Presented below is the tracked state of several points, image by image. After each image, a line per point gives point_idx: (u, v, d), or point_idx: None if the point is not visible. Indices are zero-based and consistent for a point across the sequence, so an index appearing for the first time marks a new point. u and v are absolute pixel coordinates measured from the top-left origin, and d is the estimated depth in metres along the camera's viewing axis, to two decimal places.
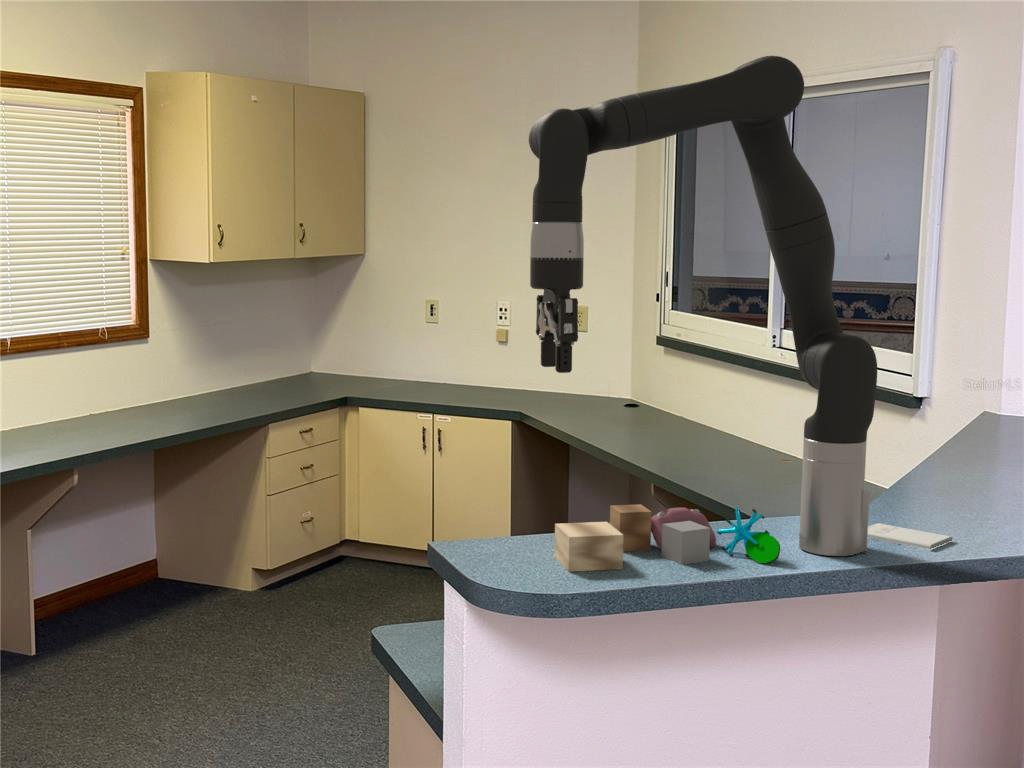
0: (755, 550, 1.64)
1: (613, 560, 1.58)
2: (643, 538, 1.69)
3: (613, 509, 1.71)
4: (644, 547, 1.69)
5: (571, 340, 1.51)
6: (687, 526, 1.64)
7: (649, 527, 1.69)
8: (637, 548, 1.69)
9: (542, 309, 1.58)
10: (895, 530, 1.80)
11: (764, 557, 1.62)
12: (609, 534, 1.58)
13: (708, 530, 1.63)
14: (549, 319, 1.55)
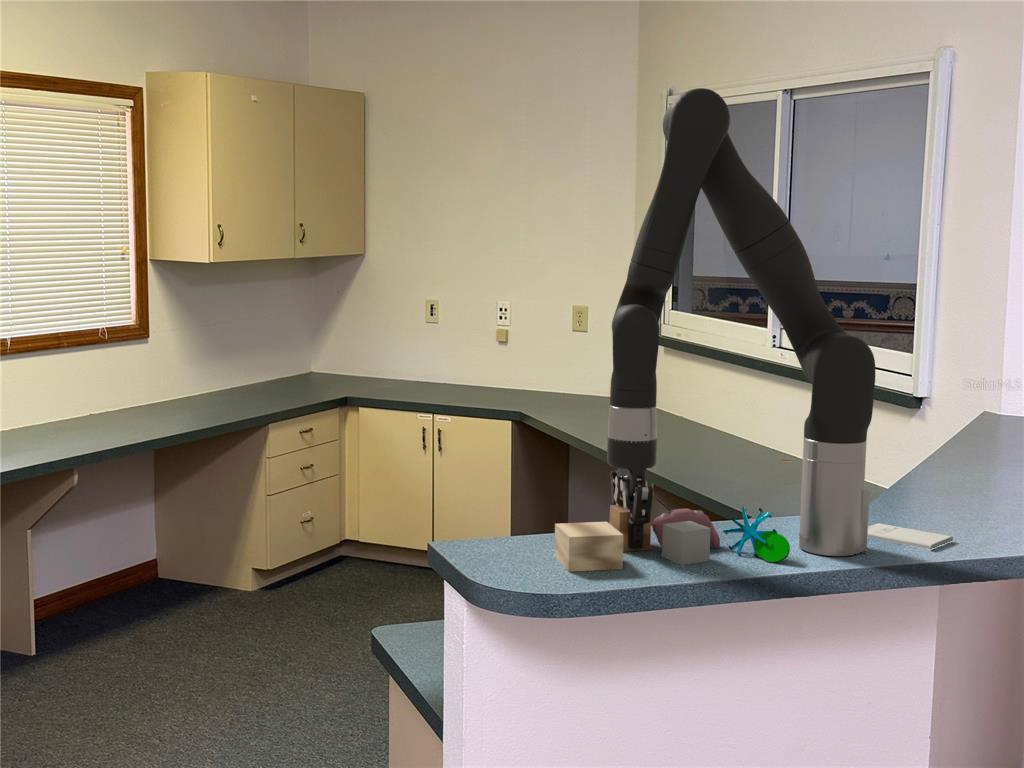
0: (764, 549, 1.65)
1: (613, 560, 1.58)
2: (643, 538, 1.69)
3: (613, 509, 1.71)
4: (644, 547, 1.69)
5: (644, 522, 1.66)
6: (687, 526, 1.64)
7: (649, 527, 1.69)
8: None
9: (618, 482, 1.71)
10: (895, 530, 1.80)
11: (774, 556, 1.63)
12: (609, 534, 1.58)
13: (708, 530, 1.63)
14: (624, 497, 1.68)
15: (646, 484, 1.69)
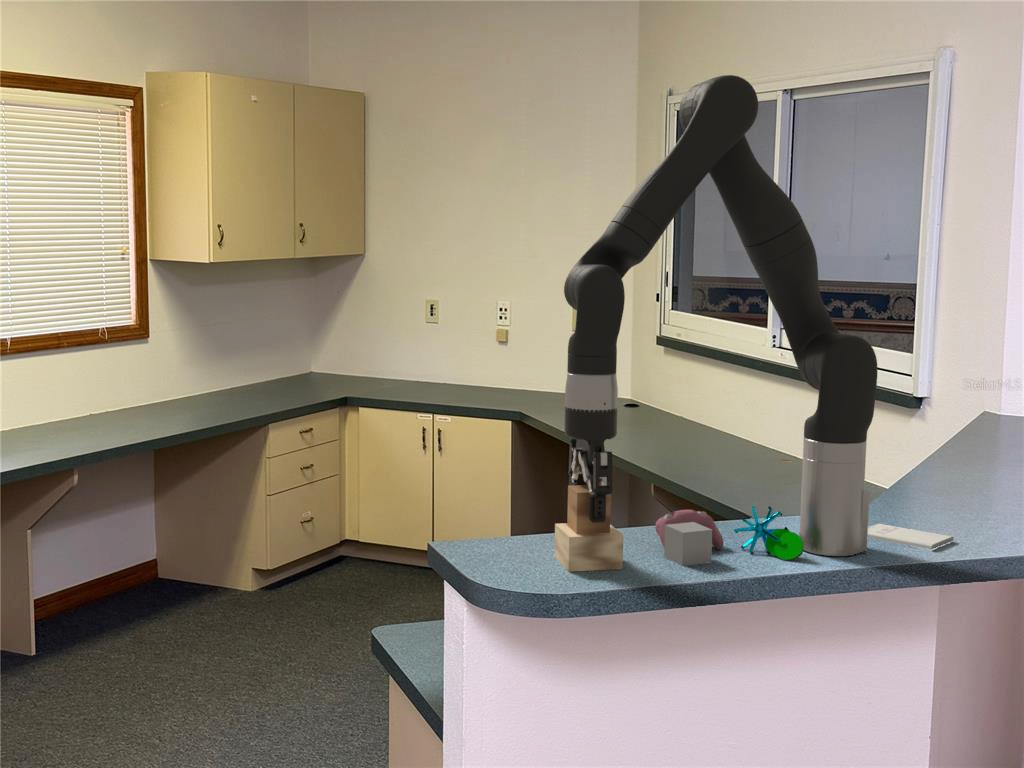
0: (777, 547, 1.66)
1: (613, 560, 1.58)
2: None
3: (571, 489, 1.61)
4: (603, 529, 1.59)
5: (605, 493, 1.54)
6: (689, 527, 1.63)
7: (608, 508, 1.59)
8: (596, 530, 1.59)
9: (576, 456, 1.60)
10: (896, 530, 1.80)
11: (788, 553, 1.64)
12: (609, 534, 1.58)
13: (710, 532, 1.62)
14: (583, 469, 1.57)
15: None
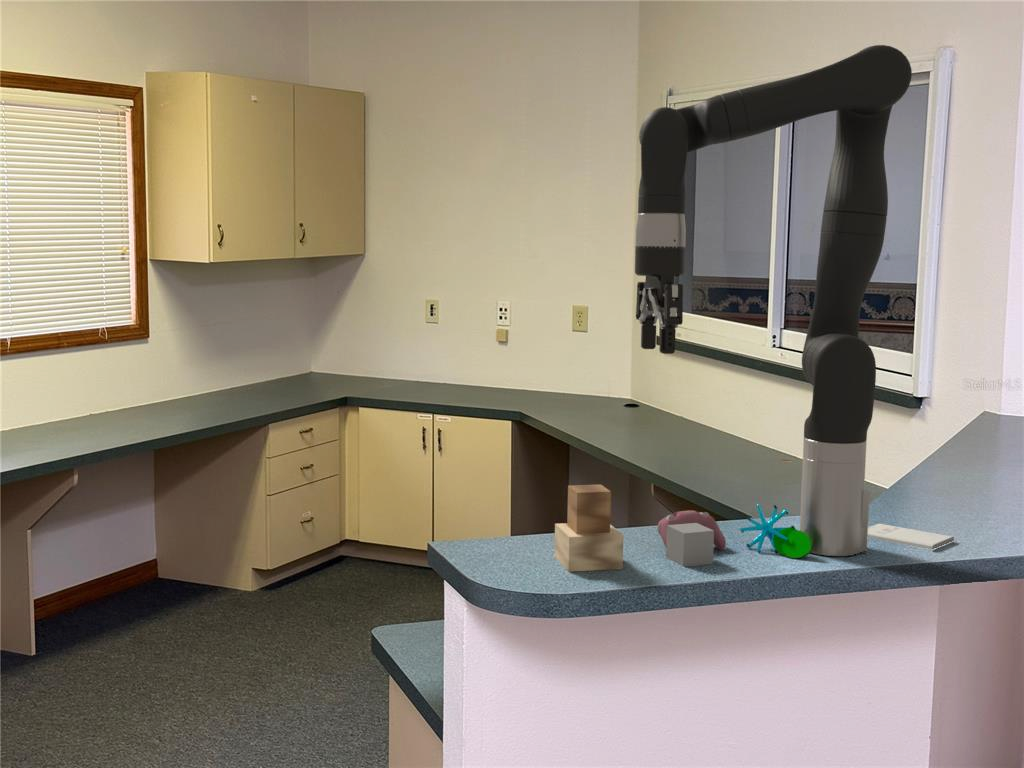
0: (785, 546, 1.67)
1: (613, 560, 1.58)
2: (602, 520, 1.59)
3: (571, 489, 1.61)
4: (603, 529, 1.59)
5: (676, 323, 1.63)
6: (691, 528, 1.63)
7: (608, 508, 1.59)
8: (596, 530, 1.59)
9: (645, 294, 1.69)
10: (896, 530, 1.80)
11: (796, 552, 1.65)
12: (609, 534, 1.58)
13: (712, 532, 1.62)
14: (654, 304, 1.66)
15: None
